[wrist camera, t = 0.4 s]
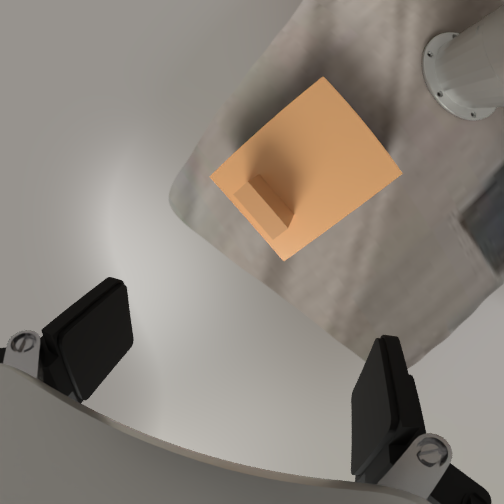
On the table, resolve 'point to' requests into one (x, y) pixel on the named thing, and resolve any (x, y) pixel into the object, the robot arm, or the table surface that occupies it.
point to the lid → (306, 169)
